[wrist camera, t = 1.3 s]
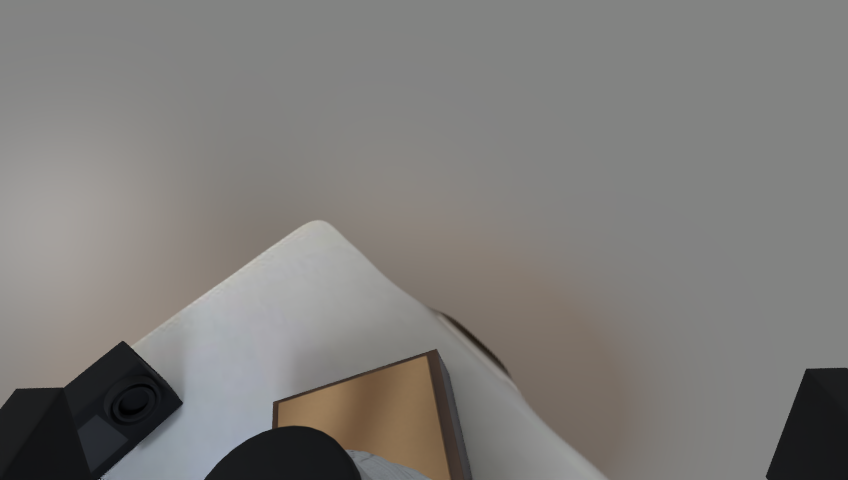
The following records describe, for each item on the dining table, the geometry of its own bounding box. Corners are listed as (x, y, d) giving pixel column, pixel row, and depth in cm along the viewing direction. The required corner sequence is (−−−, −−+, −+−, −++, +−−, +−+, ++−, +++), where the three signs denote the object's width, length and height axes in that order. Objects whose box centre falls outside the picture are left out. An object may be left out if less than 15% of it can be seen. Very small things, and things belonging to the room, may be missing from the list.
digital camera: (89, 499, 53) (30, 462, 48) (71, 462, 57) (15, 424, 52) (189, 410, 57) (143, 368, 52) (166, 381, 60) (121, 339, 56)
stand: (448, 372, 51) (434, 343, 48) (486, 545, 40) (471, 520, 38) (291, 422, 52) (269, 397, 50) (288, 603, 42) (260, 583, 39)
